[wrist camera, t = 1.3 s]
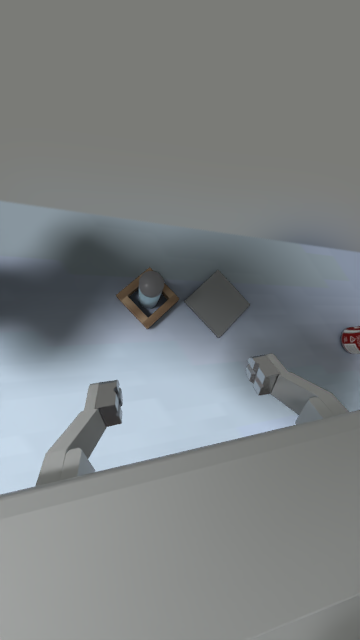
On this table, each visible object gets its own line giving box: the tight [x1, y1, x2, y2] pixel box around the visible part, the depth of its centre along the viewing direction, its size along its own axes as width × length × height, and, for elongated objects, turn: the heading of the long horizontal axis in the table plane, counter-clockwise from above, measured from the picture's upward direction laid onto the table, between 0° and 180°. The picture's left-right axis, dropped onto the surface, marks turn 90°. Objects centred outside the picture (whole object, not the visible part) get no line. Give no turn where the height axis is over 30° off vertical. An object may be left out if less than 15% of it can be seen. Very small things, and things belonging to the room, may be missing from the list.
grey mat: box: [184, 270, 250, 338], centre depth 45 cm, size 11×11×1 cm
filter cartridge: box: [139, 271, 164, 309], centre depth 37 cm, size 4×4×11 cm
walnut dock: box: [116, 267, 179, 329], centre depth 41 cm, size 9×9×2 cm
